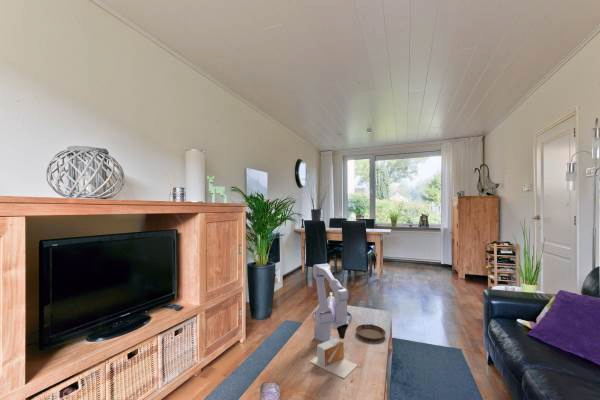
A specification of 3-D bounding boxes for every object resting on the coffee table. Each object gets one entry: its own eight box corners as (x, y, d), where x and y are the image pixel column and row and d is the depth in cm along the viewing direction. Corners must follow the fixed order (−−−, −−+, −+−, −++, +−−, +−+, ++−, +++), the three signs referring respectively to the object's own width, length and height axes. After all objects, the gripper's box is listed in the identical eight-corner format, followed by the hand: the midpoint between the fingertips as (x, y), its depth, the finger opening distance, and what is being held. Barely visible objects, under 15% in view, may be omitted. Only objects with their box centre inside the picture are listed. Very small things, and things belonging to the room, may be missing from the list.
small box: (344, 357, 138) (325, 366, 130) (336, 352, 143) (317, 361, 136) (343, 342, 138) (324, 350, 131) (335, 337, 143) (316, 344, 136)
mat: (310, 362, 135) (310, 361, 135) (324, 351, 145) (324, 350, 145) (343, 378, 122) (343, 378, 122) (357, 365, 132) (357, 365, 132)
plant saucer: (389, 343, 154) (389, 337, 154) (359, 343, 154) (359, 337, 154) (380, 328, 172) (380, 324, 172) (353, 328, 172) (353, 323, 172)
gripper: (340, 318, 132) (341, 346, 132) (355, 309, 143) (355, 335, 143) (329, 315, 137) (329, 341, 136) (343, 306, 148) (344, 331, 147)
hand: (341, 338), depth 140 cm, fingers closed
